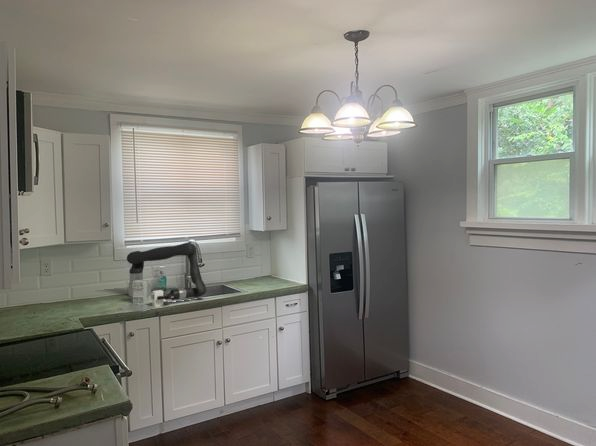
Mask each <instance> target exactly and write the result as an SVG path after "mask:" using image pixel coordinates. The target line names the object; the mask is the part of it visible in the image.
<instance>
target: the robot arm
mask: <svg viewBox="0 0 596 446" xmlns="http://www.w3.org/2000/svg"><path fill="white" fill-rule="evenodd" d="M177 256H185V257H187V258H188V262H189V276H190V278H191V281H192V282H191V283H192V284H194V285H195V287H179V288H172V289H170V291H163V296H158V297H157V300H161V299H163V300H166V301H167V300H171V301H176V300H183V299H188V298H199V297H202V296H204V295H205V294H206V293H207V288H206V284H205V282H204V281H203V278H202V274H201V271H200V267H199V262H198V261H199V260H198V255H197V248H196V245H195V244H194V243H191V242H184V243H181V244H177V245H174V246H171V245H169V246H167V245H166V246H161V247H156V248H155V247H154V248H151V249H148V250H144V251H140V250H136V251H131V252H130V253H128V254H127V256H126V261H127V262H128V263H129V264H131V267H130V268H129V272H128V273H129V282H128V296H129V297H131V298H133V287H134V286H133V281H136V280H144V279H143V278H144V273H143V271H144V266H145V265H144V264H145V262H152V261H153V262H154V261H162V260H164V261H165V260H168V259H170V258H174V257H177Z"/></svg>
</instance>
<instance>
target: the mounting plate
mask: <svg viewBox="0 0 596 446" xmlns="http://www.w3.org/2000/svg"><path fill="white" fill-rule="evenodd" d="M156 308H157V307H156V306H153V305H148V304H147V305H146V304H139V303H129V304H126V305H123V306H119V307H118V310H127V311H136V312H146V311H149V310H152V309H156Z"/></svg>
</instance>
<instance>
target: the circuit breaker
mask: <svg viewBox="0 0 596 446" xmlns="http://www.w3.org/2000/svg"><path fill="white" fill-rule="evenodd" d="M133 286H134V287H133V297H132V304H139V305H145V303H147V302H149V296H151V295H152V285H151V283H150V284H149V279H143V280H136V281H133Z"/></svg>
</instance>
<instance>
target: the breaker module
mask: <svg viewBox="0 0 596 446" xmlns="http://www.w3.org/2000/svg"><path fill="white" fill-rule="evenodd" d="M163 292H164V290H163V289H158V290H157V289H156V290H151V295H150V296H151V297H150V298H151V299H152V306H156V307H155V308H157V307H162V306H164V304H165V303H164V299H161V300H157V297H158V296H163Z"/></svg>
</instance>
